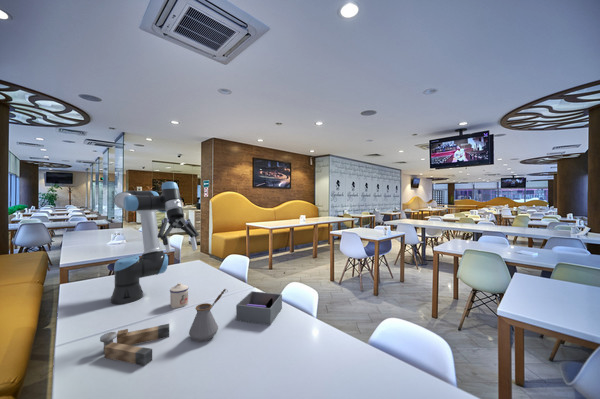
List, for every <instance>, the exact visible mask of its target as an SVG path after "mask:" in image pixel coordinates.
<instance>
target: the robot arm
mask: <svg viewBox="0 0 600 399" xmlns="http://www.w3.org/2000/svg"><path fill="white" fill-rule="evenodd" d="M161 191H162V193H161V194H160V195H159V193H158V192H157V191H154V190H126V191H125V190H124V191H121V192H119V193H117V194H116V195H115V196H114V198H113V202H114V204H115V206H116V207H117V208H120V209H123V210H124V211H126V212H137V214H138V215H139V216H140V225H141V235H142V244H143V252H142V253H141V257H139V255H129V256H126V257H122V258H119V259H118V260H116V261H115V262H114V268H113V271H114V288H113V292H112V295H111V296H110V303H111V304H114V305H124V304H129V303H132V302H135V301H138V300H141V299H142V298H143V296H144V291H143V289H142V285H141V284H140V279H142V278H146V277H151V276H157V275H160V274H164V273H166V271H167V269H168V265H169V256H168V254H169V253H170V252H172V247H171V242H170V236H169V235H170V233H171V231H172V230H173V229H181V230H183V232H184V233H186V234H187V235H188V236H189V237H190V239H189V240H190V243H191V244H190V245H191V249H192V251H193V252H195V251H196V250H198V245H197V243H198V239H197V237H198V236H199V235H200V234H199V231H198V230H197V229H196V227H195V226H194V225H193V223H192V221H191V218H188V219H185V218H184V217H185V214H184V209H183V205H182V201H181V195H180V190H179V187H178V183H176V182H174V181H166V182H163V183H162V184H161ZM157 212H159V213H161V214H162V213H163V214H165V213H166V217H163V219H161V225H160V229H159V227H158V222H157V219H158V218H157ZM168 224H169V226H168V228H167V229H166V227H167V225H168ZM161 240H162V244H163V246H164V247H165V252H166V253H164V250H163V249H161V245H160V244H161V243H160V241H161Z"/></svg>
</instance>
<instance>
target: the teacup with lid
mask: <svg viewBox="0 0 600 399" xmlns="http://www.w3.org/2000/svg"><path fill="white" fill-rule="evenodd" d="M169 292H170V296H169V297H170V298H169V299H170V302H169V303H170V305H169V306H170V307H171V308H173V309H178V308H182V307H186V306H187V305H188V304H189V286H188V285H186V284H182V283H181V282H177V284H176V285H175V286H172V287H171V288H169Z"/></svg>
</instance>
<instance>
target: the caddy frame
mask: <svg viewBox="0 0 600 399" xmlns="http://www.w3.org/2000/svg"><path fill="white" fill-rule="evenodd" d="M271 298H272V299H273V305H272V306H271V307H270V308H262V307H254V306H246V305H247V304H252V305H263V306H266V304H267V303H268V302H269V300H270V299H271ZM235 307H236V308H235V310H236V311H235V314H236V315H235V317H236V318H235V319H236V322H242V323H243V322H244V323H252V324H258V325H265V326H271V325H273V324H272V323H273V322H274V321H275V320H276V318H277V317H278V315H279V313H280V312H281V311H282V310H283V294H282V293H272V292H263V291H252V290H251V291H250V292H249V293H248V294H247V295H246V296H244V298H242V299H241V300H240V301H239V302H238V303H236V306H235Z"/></svg>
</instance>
